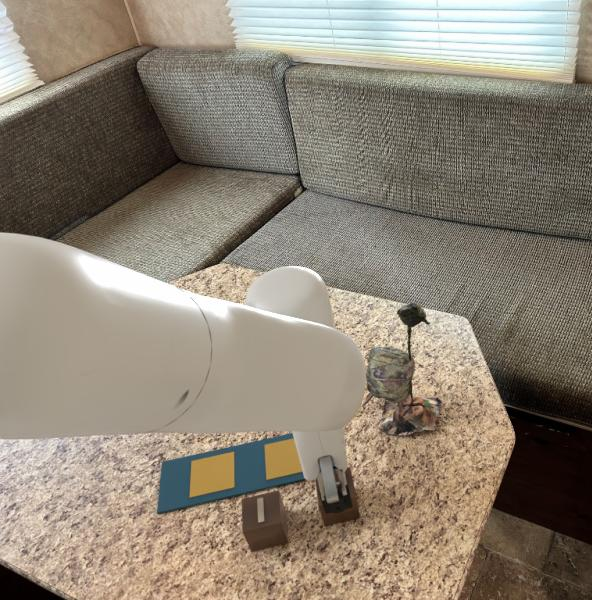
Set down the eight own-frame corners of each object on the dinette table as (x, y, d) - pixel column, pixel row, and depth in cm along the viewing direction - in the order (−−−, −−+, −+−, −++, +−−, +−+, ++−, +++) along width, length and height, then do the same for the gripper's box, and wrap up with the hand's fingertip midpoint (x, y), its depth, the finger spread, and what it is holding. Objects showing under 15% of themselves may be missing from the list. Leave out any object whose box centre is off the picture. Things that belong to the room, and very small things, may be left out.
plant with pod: (376, 387, 92) (360, 284, 79) (449, 402, 88) (445, 296, 75) (356, 429, 86) (336, 325, 73) (433, 446, 83) (426, 341, 70)
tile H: (360, 518, 75) (355, 496, 72) (324, 526, 75) (318, 505, 72) (354, 487, 79) (349, 465, 76) (320, 495, 78) (314, 473, 75)
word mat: (342, 471, 81) (341, 469, 80) (157, 514, 78) (156, 512, 77) (334, 425, 87) (333, 423, 86) (162, 463, 84) (161, 461, 83)
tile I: (288, 543, 73) (280, 522, 70) (251, 552, 73) (241, 531, 70) (286, 510, 77) (278, 489, 74) (250, 518, 76) (241, 497, 73)
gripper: (266, 328, 68) (295, 423, 79) (276, 456, 55) (309, 548, 66) (333, 315, 68) (352, 410, 80) (358, 437, 55) (377, 531, 67)
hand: (333, 472), depth 73 cm, fingers open, 9 cm apart
